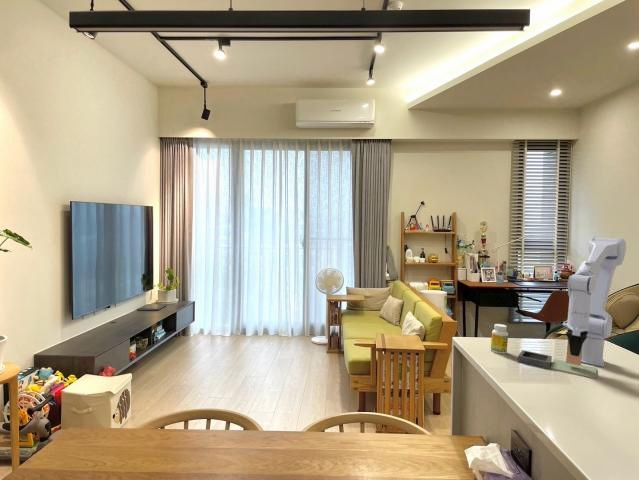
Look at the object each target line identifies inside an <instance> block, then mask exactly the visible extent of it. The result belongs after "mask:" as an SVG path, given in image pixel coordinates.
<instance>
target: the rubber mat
mask: <svg viewBox="0 0 639 480" xmlns="http://www.w3.org/2000/svg"><path fill="white" fill-rule="evenodd" d="M552 360H553V361H552V362H551V363H552V364H551V365H550V370H554V371H558V372H562V373H566V372H567V373H568V374H572V375H577V376H579V377H580V376H581V377H585V378H588V379H594V380H597V367H594V366H588V365H585V364H581V366H579V365H574V364H570V363H566V360H561V359H556V358H554V359H552Z"/></svg>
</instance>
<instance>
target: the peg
mask: <svg viewBox="0 0 639 480" xmlns="http://www.w3.org/2000/svg"><path fill="white" fill-rule="evenodd" d="M582 348H583V345H582V347H581V351H580V354H579V356H574V355H571V353H570V345H569V340H568V339H567V345H566V358H565V361H566V363H570V364H574V365H579V366H581V365H582V362H581V359H582Z"/></svg>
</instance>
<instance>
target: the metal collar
mask: <svg viewBox="0 0 639 480" xmlns="http://www.w3.org/2000/svg"><path fill="white" fill-rule="evenodd" d="M552 358H553V356H552V355H548V354H543V353H538V352H533V351H530V350H523V349H522V350H521V351H520V353H519V354H518V355H517V363H522V364H525V365H530V366H535V367H539V368H541V369H542V368H544V369H548V370H549V369H550V368H551V365H552V364H551V363H552V362H553V361H552V360H553V359H552Z"/></svg>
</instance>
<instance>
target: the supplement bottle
mask: <svg viewBox="0 0 639 480" xmlns="http://www.w3.org/2000/svg"><path fill="white" fill-rule="evenodd" d="M493 326H494V327H493V330H492V331H491V340H490V351H491V352H492V353H495V354H498V355H499V354H500V355H502V354H504V355H505V354H507V353H508V344H509V343H508V341H509V333H508V331H507V329H508V328H507V327H508V326H507V325H505V324H500V323H495V324H494V325H493Z"/></svg>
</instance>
